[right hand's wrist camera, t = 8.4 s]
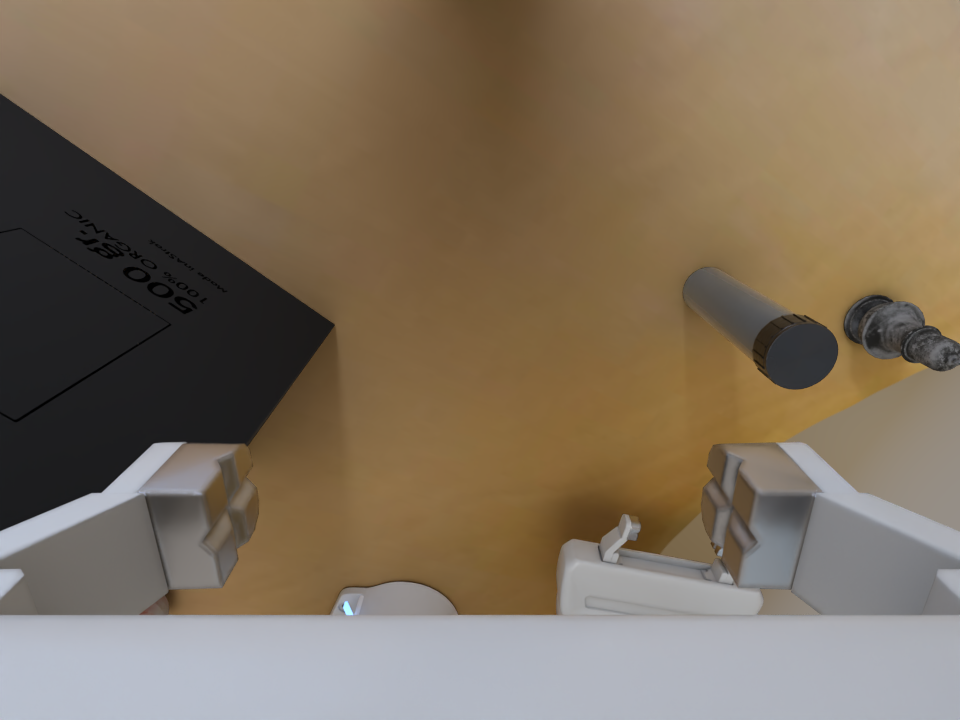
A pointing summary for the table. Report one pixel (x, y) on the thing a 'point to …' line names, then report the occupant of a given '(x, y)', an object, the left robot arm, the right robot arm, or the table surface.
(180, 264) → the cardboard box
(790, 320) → the lid
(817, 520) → the right robot arm
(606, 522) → the table surface
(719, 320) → the grey cylindrical piece
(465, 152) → the table surface
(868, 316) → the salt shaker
